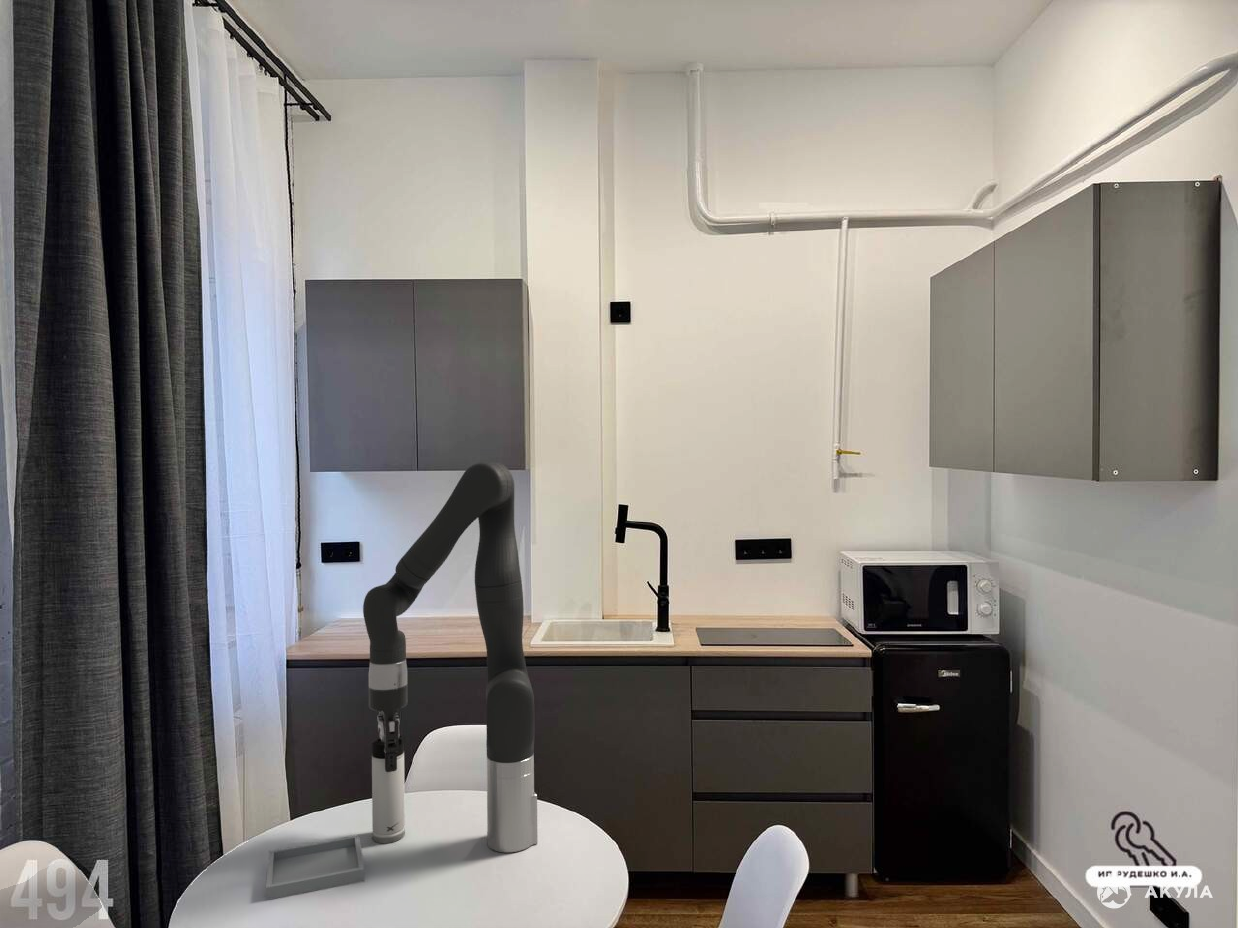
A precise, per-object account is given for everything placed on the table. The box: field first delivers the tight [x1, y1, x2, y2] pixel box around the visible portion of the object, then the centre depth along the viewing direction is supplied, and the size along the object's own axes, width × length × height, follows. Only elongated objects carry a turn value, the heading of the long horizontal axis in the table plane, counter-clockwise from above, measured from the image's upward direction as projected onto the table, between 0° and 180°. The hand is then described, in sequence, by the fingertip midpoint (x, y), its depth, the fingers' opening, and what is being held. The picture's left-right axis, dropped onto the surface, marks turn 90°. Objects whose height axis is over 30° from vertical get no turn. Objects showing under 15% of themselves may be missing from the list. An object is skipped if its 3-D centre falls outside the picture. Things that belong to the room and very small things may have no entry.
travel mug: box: [371, 734, 406, 844], centre depth 158 cm, size 6×7×20 cm
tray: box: [265, 834, 365, 901], centre depth 144 cm, size 16×14×2 cm
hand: (388, 763), depth 158 cm, fingers open, 8 cm apart
